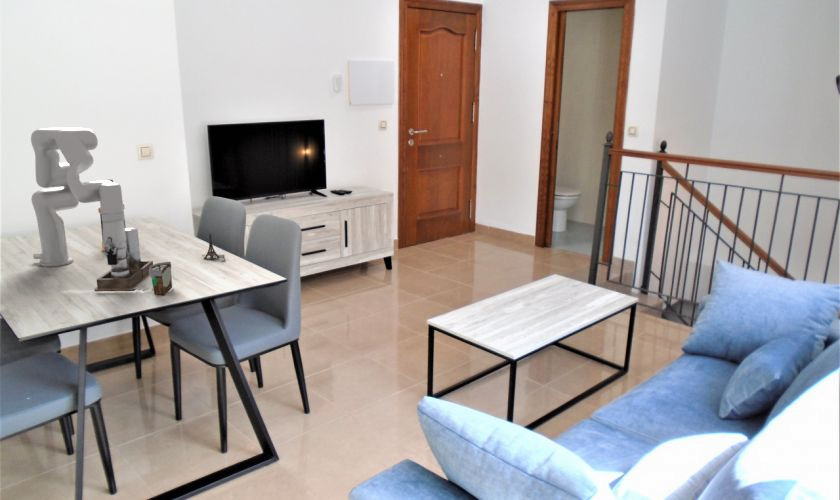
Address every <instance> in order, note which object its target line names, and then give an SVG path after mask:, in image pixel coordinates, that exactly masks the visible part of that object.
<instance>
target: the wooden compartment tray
mask: <svg viewBox="0 0 840 500" xmlns="http://www.w3.org/2000/svg"><path fill="white" fill-rule="evenodd" d="M151 265H154V261H153V260H141V266H142V268H141V269H128V270H129V273H130V277H129V278H123V279H111V269H110V270H108V271H106V272H104V274H102V275H101V276H99V277H98V278H97V279H96V285H97V286H96V287H95V288H93V289H94V290H93V291H94V292H134V291H135V290H136V287H137V286H138V285H139V284H141V283H142V282H143V281H144V280H146V279H147V278H148V277H149V276H151V275H150V274H149V268H150V266H151Z"/></svg>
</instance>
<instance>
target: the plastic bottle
mask: <svg viewBox="0 0 840 500" xmlns="http://www.w3.org/2000/svg"><path fill="white" fill-rule="evenodd" d="M112 251H113V249H112ZM115 254H116V255H117V265H110V267H111V269H110V270H111V279H123V278H129V277H130V273H129V270H128V266H127V261H126V243H125V241H122V243H121V246H120V247H118V248H116V252H115Z"/></svg>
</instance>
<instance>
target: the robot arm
mask: <svg viewBox="0 0 840 500" xmlns="http://www.w3.org/2000/svg"><path fill="white" fill-rule="evenodd" d="M98 140H99V139H98V137H97V135H96V133H95V132H94V131H93V130H92V129H90V128H83V127H77V126H76V127H73V126H72V127H48V128H47V127H46V128H38V129H35V130H33V132H32V133H31V136H30V142H31V143H30V144H31V146H32V149H33V152H34V155H35V161H34V163H35V168H34V169H35V181H36V184H37V185H38V187H40V188H44V189H40V190H37V191H35V192H33V194H32V195H31V200H30V201H31V205H32V208H33V210H34V212H35V217H36V223H37V228H38V234H39V241H40V249H41V253H35V252H34V253H33V260H40V261H39V262H38V265H39V266H41V267H46V268H47V267H49V268H50V267H60V266H64V265H70V264H71V263H73V262H74V259H73V257H71V256H69V251H68V244H67V237H66V228H65V222H64V219H63V218H62V217H61V216H60V215H59V214H57V212H61V211H67V210H68V211H69V210H73V209H75V208H77V207H78V206H79V203H81V204H89V203H94V202H99V203H100V205H99V207H100V206H101V215H102V222H103V240H102V242H103V245H104V248H105V249H106V250H105V251H104V252H105V253H106V254H105V255H106V257H107V258H106V259H107V260H106V261H107V265H108V266H111V265H117V255H116V254H115V252H116V248H118V247H120V246H121V243H122V241H125V243H126V233H125V227H124V222H123V221H124V220H125V221H126V219H124V217H125V212H124V211H125V209H124V210H123V204H124V202H123V201H124V200H123V191H122V186H121V185H120V184H119V183H116V182H113V183H112V182H111V181H108V180H109V179H104V180H103V179H102V180H95V181H85V182H82V181H81V180H80V174H82V173H83V172H86V170H88V169H90V168H91V167H92V166H93V164H94V157H93V155H92V154H91V152H90V151H92V150H95V149H96V148H97V147H98V143H99V141H98ZM59 150H60V152H61V154H62V155H63V157H64V159H65V160H66V162H61V163H60V161H61V157H60V153H59V152H58V151H59ZM126 247H127V245H126ZM112 249H113V251H112ZM126 258H127V248H126Z"/></svg>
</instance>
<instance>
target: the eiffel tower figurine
mask: <svg viewBox="0 0 840 500" xmlns="http://www.w3.org/2000/svg"><path fill="white" fill-rule="evenodd" d="M211 234H212V233H211V232H209V233H208V235H209V244H208V245H209V246H208V251H207V252H206V254H201V255H202V256H203V260H204V261H205V260H206V261H211V262H214V261H216V260H221V261H220V263H225V262H226V258H225V255H224V254H218V253H217V251H216V250H215V248H214V245H213V240H212V235H211ZM204 255H206V256H204Z"/></svg>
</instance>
